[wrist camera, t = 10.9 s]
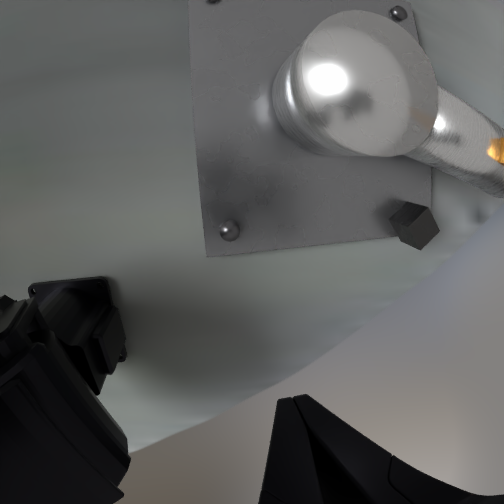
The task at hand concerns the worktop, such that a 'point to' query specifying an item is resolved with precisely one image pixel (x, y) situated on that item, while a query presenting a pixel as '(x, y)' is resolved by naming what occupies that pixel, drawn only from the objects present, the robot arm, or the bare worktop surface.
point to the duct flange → (286, 140)
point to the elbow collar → (382, 102)
